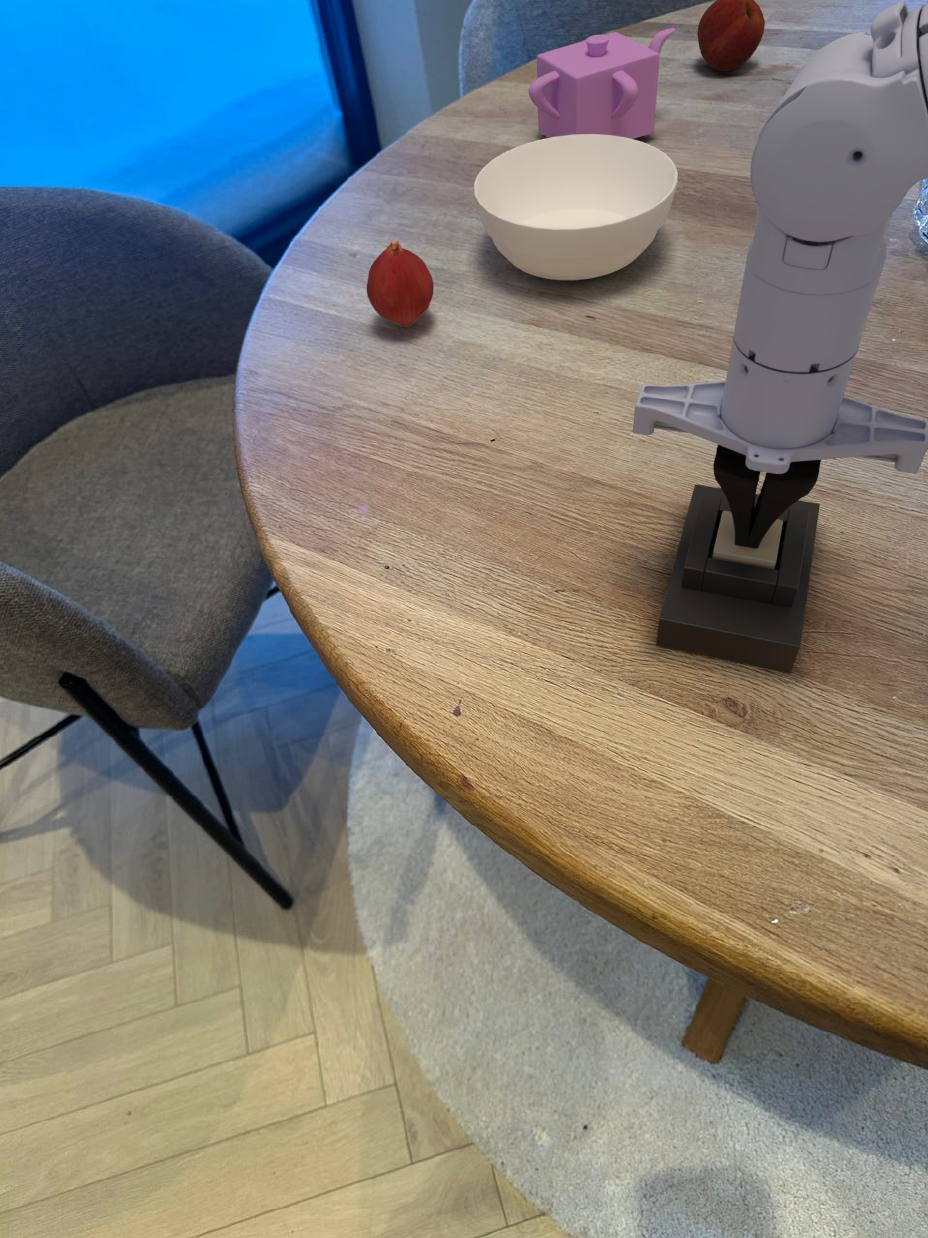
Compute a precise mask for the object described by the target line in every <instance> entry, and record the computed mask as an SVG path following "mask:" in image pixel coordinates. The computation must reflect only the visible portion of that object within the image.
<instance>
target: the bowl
mask: <svg viewBox="0 0 928 1238" xmlns="http://www.w3.org/2000/svg"><path fill="white" fill-rule="evenodd" d="M678 180H679V173H678V170H677V167H676V164H675V162H674V161H673V160H672V159H671V158H670V157H669V156H668V154H666V153H665V152H663V151H662V150H660V149H659V148H657V147H656V146H653V145H650V144H648V143H646V142H643V141H640V140H638V139H630V138H625V137H619V136H612V135H599V134H578V135H566V136H557V137H551V138H548V137H546V138H542V139H537V140H534V141H531V142H530V141H529V142H528V143H524V144H520V145H518V146H516V147H514V148H510V149H509V150H507V151H504V152H503V153H501V154H499V155H498V156H496V157H495V158H493V159H492V160H489V162H488V163H487V164H486V165H485V166H484V167H482V169H481V170H480V171H479V173H478V174H477V176H476V178H475V180H474V185H473V196H474V201H475V205H476V208H477V212H478V215H479V219H480V222H481V225H482V228H483V229H484V231H485V233H486V234H487V235H488V236H489V237H490V238H491V239H492V242H493V244H494V246H495V247H496V250H498V252H499V253H500V254H501V255H502V256H503V257H504V258H505V259H507V261H509V262H510V263H511V264H512V266H514V267H515V268H517V269H518V270H520V271H522V272H524V273H525V274H526V273H527V274H529V275H532V276H534V277H538V278H542V279H547V280H556V281H579V280H588V279H593V278H598V277H603V276H607V275H609V274H612V273H615V272H617V271H619V270H621V269H623V268H625V267H627V266H628V265H629V264H631V263H633V262H634V261H635V260H636V259H637V258H638V257H639V256H640V255H642V254H643V252H645V250H646V249H647V248H648V247H649V246H650V245H651V243H652V242H654V240H655V237H656V235H657V233H658V231H659V229H660V228H662V226H663V225H664V224H665V222H666V221H667V218H668V216H669V214H670V211H671V208H672V205H673V202H674V201H673V200H674V197H675V194H676V190H677V187H678V185H679V183H678Z"/></svg>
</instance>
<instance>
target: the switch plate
mask: <svg viewBox="0 0 928 1238" xmlns="http://www.w3.org/2000/svg"><path fill="white" fill-rule="evenodd" d="M759 494H760V493H756V498H755V505H756V502H757V499H758V497H759ZM820 506H821V504H820V503H816V502H810V501H804V500H800V499H799V500H798V501H797V502H795V503H794V504H793V505H791V506H790V507H789V508H788V509H787V510H786V511H784V512H783V513H782V514H781V515H780V516H779V518H778V520H783V525H782V530H781V536H780V542H779V548H778V554H777V560H776V564H775V568H774V569H770V568H764V567H759V566H753V565H748V564H742V563H736V562H731V561H725V560H720V559H714V558H712V556H713V551H714V547H715V542H716V538H717V534H718V529H719V525H720V521H721V516H722V512H723V511H729V512H731V510H730V506H729V504H728V501H727V499H726V496H725V494H724V492H723V490H722V489H721V487H717V486H716V487H715V486H710V485H704V484H703V485H701V484H694V487H693V490H692V495H691V498H690V502H689V506H688V509H687V514H686V517H685V521H684V525H683V529H682V532H681V535H680V540H679V543H678V548H677V551H676V555H675V559H674V562H673V566H672V569H671V573H670V577H669V581H668V585H667V589H666V593H665V596H664V600H663V604H662V608H661V611H660V616H659V619H658V627H657V635H656V643H655V645H656V646H658V647H662V648H668V649H672V650H676V651H681V652H686V653H691V654H695V655H700V656H706V657H710V658H714V659H719V660H720V659H721V660H724V661H728V662H734V663H739V664H743V665H749V666H752V667H757V668H762V669H767V670H770V671H776V672H781V673H786V674H792V671H793V669H794V667H795V666H794V665H795V663H796V660H797V658H798V655H799V652H800V649H801V645H802V637H803V631H804V623H805V616H806V607H807V600H808V595H809V593H808V592H809V586H810V581H811V579H810V578H811V574H812V573H811V571H812V565H813V556H814V550H815V544H816V536H817V529H818V521H819V514H820ZM754 508H755V506H754Z"/></svg>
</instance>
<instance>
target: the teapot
mask: <svg viewBox="0 0 928 1238" xmlns="http://www.w3.org/2000/svg"><path fill="white" fill-rule="evenodd" d="M674 32H676V28H674V27H671V28H667V29H663V30H661V31H659V32H657V33H656V34H655V35H654V36H653V38H652V39H651V41H650V42H649V44H648V47H647V46H646V45H643V44H641V43H639V42H637V41H635V40H633V39H631V38H629V37H627V36H625V35H623V34H621V33H619V32H617V31H614V32H611V33H606V34H593V35H591V36H588V37H587V38H585V40H582V41H578V42H576V43H572V44H569V45H565V46H562V47H559V48H555V49H552V50H548V51H545V52H542V53H538V54H537V55H536V79H534V80H533V81H532V83H530V85H529V87H528V96H529V99H530V100H531V102H532V103H533V105H535V107H536V108H537V123H538V125H537V127H538V129H537V130H538V132H539V133H540V134H542V135H544V136H545V137H546V138H551V137H557V136H566V135H578V134H599V135H612V136H619V137H625V138H630V139H633V140H635V139H637V138H640V137H643V136H647V135H649V134H653V133H655V125H656V111H657V110H656V109H657V97H658V83H659V72H660V71H659V69H660V59H661V58H660V57H661V55H660V54H661V51H662V49H663V47H664V45H665V43H666V42H667V39H669V37H670V36H671V35H672V34H673V33H674Z"/></svg>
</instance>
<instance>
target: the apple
mask: <svg viewBox="0 0 928 1238" xmlns="http://www.w3.org/2000/svg"><path fill="white" fill-rule="evenodd" d="M764 17H765V16H764V13H763V11H762V8H761V7H760V5H759V4H758V3H757V2H756V0H715V1H714V2H713V3H711V4H710V6H708V7H707V9H706V10H705V11H704V13H703V14H702V15H701V17H700V20H699V22H698V25H697V33H696V34H697V41H698V43H697V44H698V48H699V51H700V55H701V57H702V60H704V63H706V64H707V66H708V67H710V68H712V69H714V70H716V71H718V72H731V71H734V70H737V69H739V68H740V67H741V66H743V65H745V64H746V62H748V61H749V59H750V58H751V57H752V56H753V55H754V53H755V52H756V50H757V49H758V47H759V45H760V43H761V42H762V38H763V36H764V33H765V28H766V27H765V26H766V21H765V18H764Z"/></svg>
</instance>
